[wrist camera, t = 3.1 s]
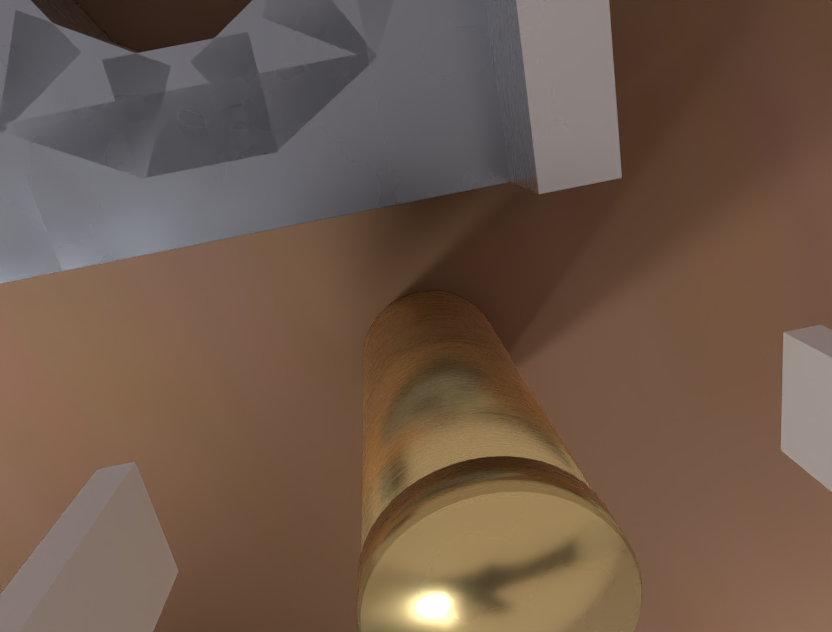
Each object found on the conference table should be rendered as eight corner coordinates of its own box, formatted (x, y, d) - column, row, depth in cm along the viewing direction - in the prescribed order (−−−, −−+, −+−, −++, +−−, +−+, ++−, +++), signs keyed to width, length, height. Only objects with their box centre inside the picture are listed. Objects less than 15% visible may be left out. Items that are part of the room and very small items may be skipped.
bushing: (377, 428, 18) (389, 750, 9) (348, 304, 17) (327, 528, 8) (506, 402, 19) (652, 693, 9) (487, 276, 17) (635, 464, 8)
